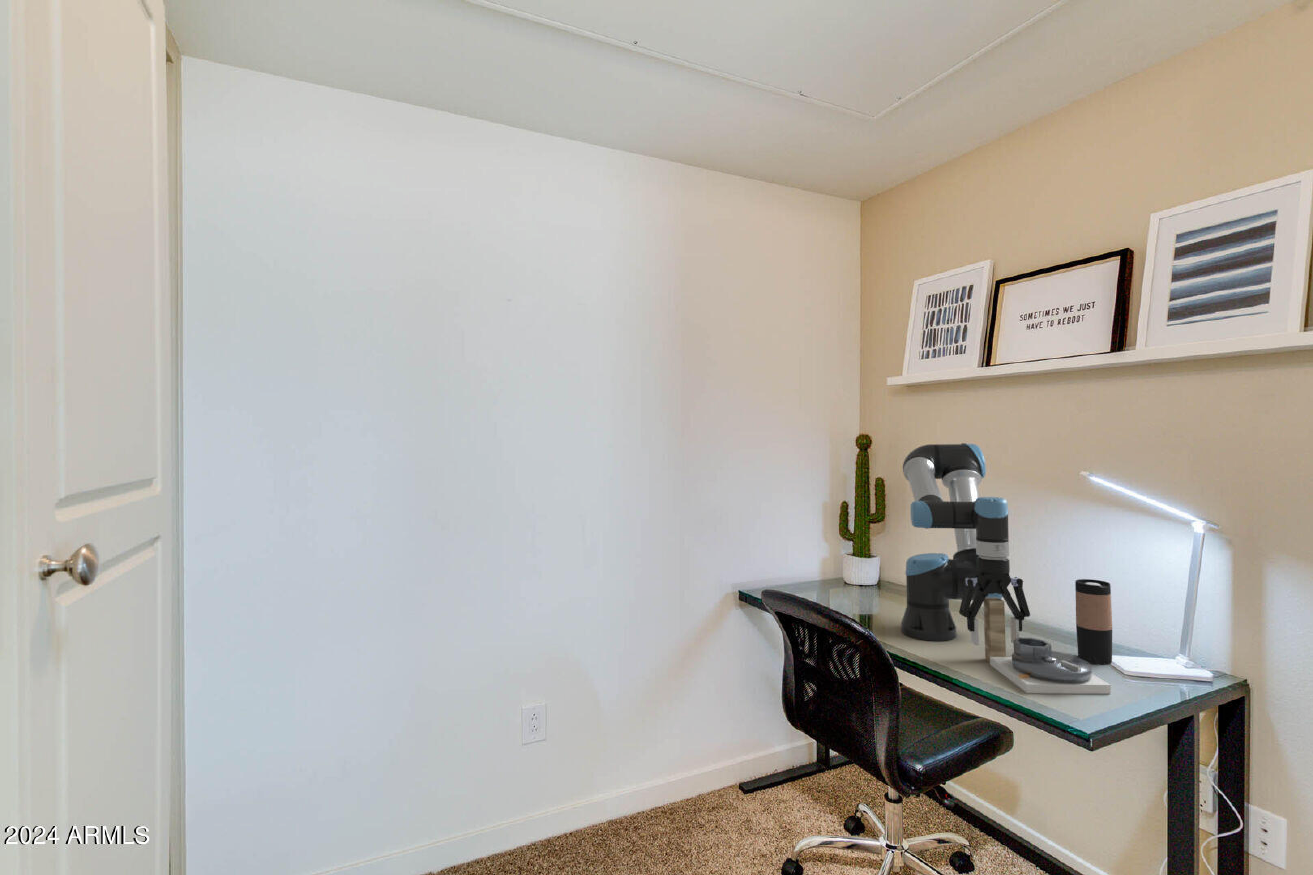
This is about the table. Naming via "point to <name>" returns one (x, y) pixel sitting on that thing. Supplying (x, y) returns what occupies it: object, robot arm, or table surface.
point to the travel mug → (1094, 621)
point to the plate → (1048, 681)
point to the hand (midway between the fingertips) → (995, 643)
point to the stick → (994, 628)
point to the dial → (1048, 662)
